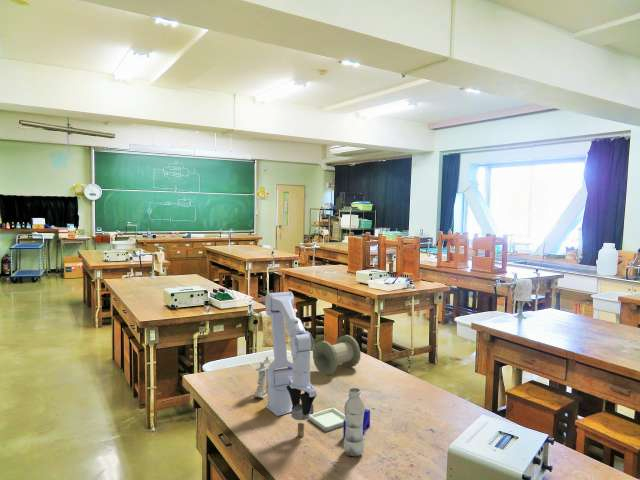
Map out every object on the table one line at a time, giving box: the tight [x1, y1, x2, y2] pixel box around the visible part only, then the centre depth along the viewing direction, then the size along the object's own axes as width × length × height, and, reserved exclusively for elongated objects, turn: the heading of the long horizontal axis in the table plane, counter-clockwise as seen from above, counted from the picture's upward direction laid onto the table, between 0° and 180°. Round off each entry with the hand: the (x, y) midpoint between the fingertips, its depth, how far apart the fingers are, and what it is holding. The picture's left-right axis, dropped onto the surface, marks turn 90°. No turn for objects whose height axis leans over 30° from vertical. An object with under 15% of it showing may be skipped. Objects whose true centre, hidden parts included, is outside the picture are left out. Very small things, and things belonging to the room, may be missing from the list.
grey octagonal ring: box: [291, 403, 314, 421], centre depth 147 cm, size 6×7×3 cm
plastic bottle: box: [343, 387, 366, 457], centre depth 136 cm, size 6×7×20 cm
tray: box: [308, 407, 345, 432], centre depth 157 cm, size 11×11×2 cm
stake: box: [297, 422, 305, 438], centre depth 147 cm, size 2×2×4 cm
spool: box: [312, 334, 361, 376], centre depth 207 cm, size 16×15×15 cm
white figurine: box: [251, 356, 270, 399], centre depth 177 cm, size 4×10×15 cm, turn 163°
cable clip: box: [342, 408, 371, 438], centre depth 149 cm, size 12×4×6 cm, turn 143°
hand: (300, 410), depth 146 cm, fingers closed on grey octagonal ring, 6 cm apart
